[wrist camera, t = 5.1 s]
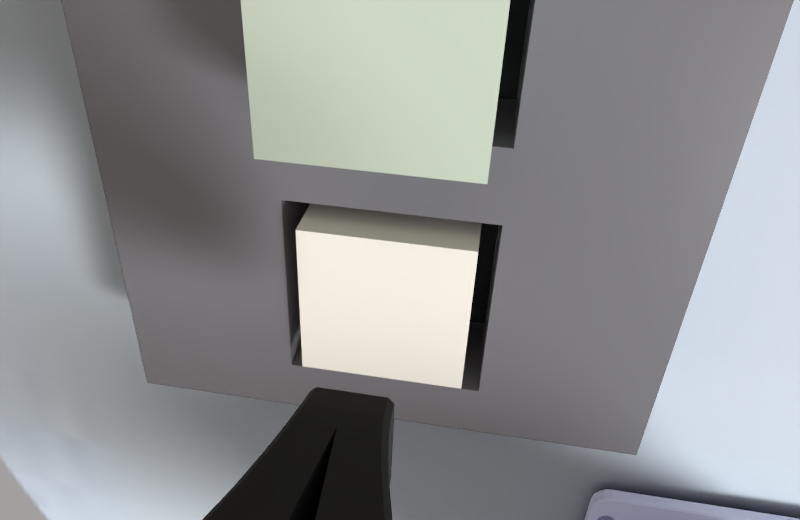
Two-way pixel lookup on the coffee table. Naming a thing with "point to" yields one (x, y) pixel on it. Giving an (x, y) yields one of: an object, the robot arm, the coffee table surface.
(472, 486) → the coffee table surface
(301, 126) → the sage key
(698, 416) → the coffee table surface
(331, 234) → the ivory key
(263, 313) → the grey slotted board
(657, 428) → the coffee table surface
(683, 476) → the coffee table surface
